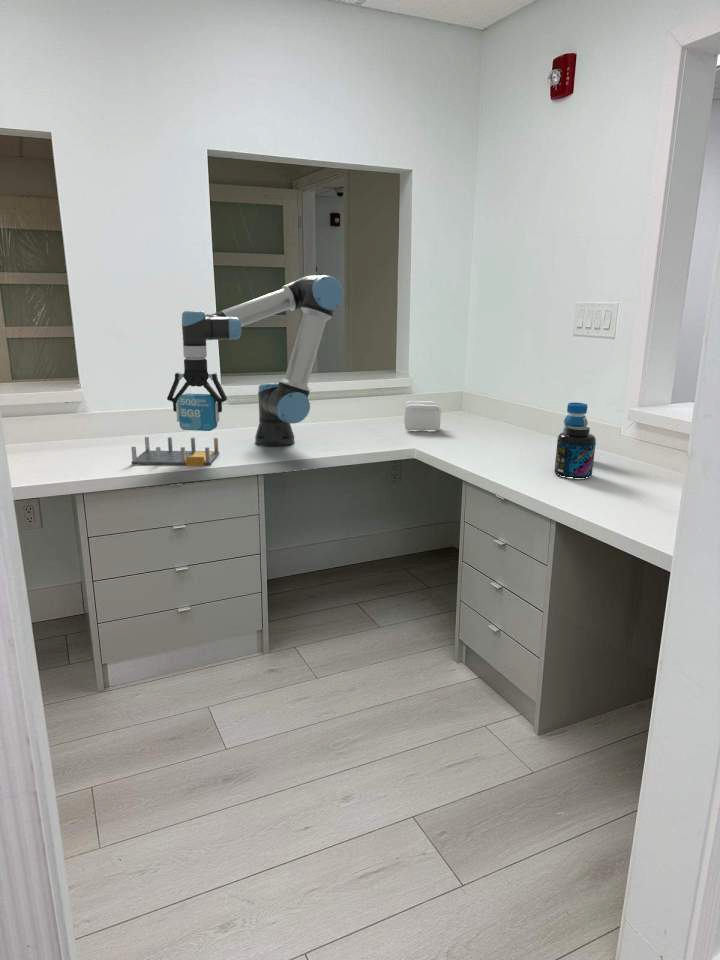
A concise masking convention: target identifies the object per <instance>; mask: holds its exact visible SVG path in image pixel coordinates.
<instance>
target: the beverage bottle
mask: <svg viewBox="0 0 720 960" xmlns="http://www.w3.org/2000/svg"><path fill="white" fill-rule="evenodd" d="M566 412H567V415H566V416H565V418H564V420H563V424H564V425H563V427H562V432H566V426H569V425H579V426H586V427H588V423H589V422H588V419H587V417H586V414H587V412H588V404H587V403H585V402H584V403H583V402H575V401H574V402H568V404H567V407H566Z"/></svg>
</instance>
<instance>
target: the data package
mask: <svg viewBox="0 0 720 960" xmlns="http://www.w3.org/2000/svg"><path fill="white" fill-rule="evenodd" d="M216 402H217V401H216V400H215V399H214V398H213V397H212V395H211V394H210V393H191V392H190V393H187V392H186V393H183V394H182V395H181V396H179V398H178V406H179V422H178V423H179V427H180V429H181V430H183V431H195V432H196V431H197V432H198V431H199V432H201V431H202V432H211V431H213V430H215V429H216V428H217V427H218V423H217V422H216V415H215V403H216Z"/></svg>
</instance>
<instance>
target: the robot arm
mask: <svg viewBox="0 0 720 960" xmlns="http://www.w3.org/2000/svg"><path fill="white" fill-rule="evenodd" d="M343 300H344V289H343V286H342V284H341V282H340V281H339V280H338V279H337V278H335V277H334V276H331V275H327V274H321V275H319V274H318V275H314V274H313V275H311V274H310V275H307V276H303V277H301V278H299V279H297V280H295V281H294V280H293V281H292V282H290V283H288V284H285V285H282V287H281V289H279V290H276V291H273V292H270V293H267V294H265V295H262V296H259V297H256V298H253V299H251V300H248V301H245V302H243V303H240V304H236V305H234V306H231V307H228V308H226V309H223V310H220V311H217V312H215V313H211V314H210V313H209V314H206V312H205V311H203V310H185V311H183V312H182V313H181V331H182V345H183V346H182V349H183V351H182V353H183V358H184V360H183V367H184V370H183V371H184V372H183V373H180V372H176V373H175V374H174V380H173V382H172V386H171V387H170V390H169V392H168V395H167V398H166V399H167V401H170V402H172V409H173V412H174V413H176V422H177V423H179V406H178V398H179V396H181V395H183V394H185V392H186V391H187V389H188V388H189V387H204V389H206V391H207V392H208V394H211V395H212V397H213V398H214V399H215V400H216V403H215V415H216V422H217V424H218V423H219V422H220V413H222V411H223V403H224V402H226V401H227V400H228V398H227V395H226V394H225V393H226V392H225V391H224V388H222V385H221V383H220V382H219V380H218V374H217V373H216V372H214V373H209V372H208V360H207V357H208V355H207V341H217V340H218V341H227V340H229V341H232V340H238V339H240V337H241V336H242V328H243V327H244V326H247V325H250V324H253V323H255V322H258V321H260V320H263V319H266V318H269V317H271V316H274V315H277V314H279V313H283V312H286V311H288V310H289V311H291V312H293V311H296V310H299V309H301V311H302V313H303V315H302V318H301V321H300V325H299V328H298V331H297V335H296V337H295V342H294V345H293V348H292V352H291V355H290V358H289V363H288V365H287V369H286V373H285V376H284V377H283V379H280V380H279V382H270V383H261V384H260V385H258V392H257V394H258V417H259V418H258V419H259V420H258V427H257V430H256V433H255V437H254V438H255V439H254V441H255V444H257V445H259V446H264V447H283V446H282V445H284V446H289V445H288V444H290V445H292V444H294V443H295V434H294V431H293V429H292V426H291V424H297V423H301V422H302V421H303V420H305V419H306V418H307V417H308V415H309V413H310V410H311V402H310V400H309V396H310V391H311V390H310V388H309V386H308V384H309V381H310V377H311V374H312V370H313V366H314V363H315V360H316V357H317V353H318V350H319V347H320V343H321V340H322V337H323V334H324V330H325V327H326V323H327V322H328V321H329V320H331V319H332V317H333V315H334V312H335V310H336V309H337V308H338V307H340V306H341V304H342V303H343ZM183 378H184V380H185V383H184V384H183V385H182V387H181V388H180V389H179V391H178V392H177V394H175V393H176V390H177V388H178V385H179V384H180V380H182V379H183ZM209 378H210V380H211V381H212V383H213V385H214V386H215V388H216V390H217V392H218V393H217V392H216V391H215V390H214V388H213V387H212V386H211V384H210V383H209V382H208V379H209Z"/></svg>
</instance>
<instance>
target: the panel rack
mask: <svg viewBox="0 0 720 960" xmlns="http://www.w3.org/2000/svg"><path fill="white" fill-rule="evenodd" d="M144 445H145V447H144V448H145V451H143V452H142V453H141V454H139V455H138V454H137V446H131V460H132V461H131V465H132V464H142V466H144V465H145V466H146V465H147V466H148V465H149V466H186V467H190V466H191V467H194V466H195V467H205V466H209V467H210V466H211V465H212V464H213V463H214V462H215V461H216V459H217V458H218V456H219V455H220V451H219V438H218V437H214V438H213V447H214V450H213V451H212V450H210V447H204V448H205V449H204V450H196V437H193V436H191V437H190V445H191V446H190V448H191V450H186V449H185V448H186V447H185V446H181V447H180V450H174V449H173V437H172V436H169V437H167V447H168V450H161V446H156V447H155V450H151V449H150V448H151V447H150V437H149V436H145V437H144ZM137 455H138V456H137Z"/></svg>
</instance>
